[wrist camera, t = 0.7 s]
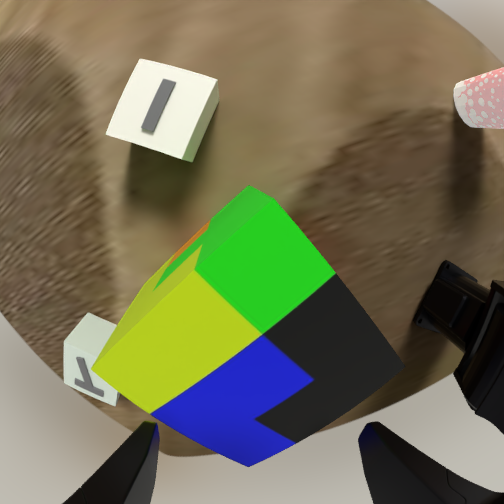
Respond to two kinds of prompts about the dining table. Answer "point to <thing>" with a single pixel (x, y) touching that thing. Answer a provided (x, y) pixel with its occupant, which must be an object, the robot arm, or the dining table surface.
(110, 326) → the digit block seven
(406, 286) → the dining table surface
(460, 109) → the beverage cup
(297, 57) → the dining table surface
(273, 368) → the puzzle toy
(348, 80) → the dining table surface
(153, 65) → the digit block one
